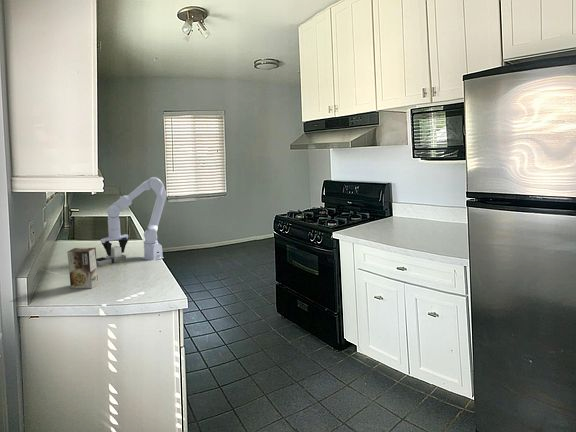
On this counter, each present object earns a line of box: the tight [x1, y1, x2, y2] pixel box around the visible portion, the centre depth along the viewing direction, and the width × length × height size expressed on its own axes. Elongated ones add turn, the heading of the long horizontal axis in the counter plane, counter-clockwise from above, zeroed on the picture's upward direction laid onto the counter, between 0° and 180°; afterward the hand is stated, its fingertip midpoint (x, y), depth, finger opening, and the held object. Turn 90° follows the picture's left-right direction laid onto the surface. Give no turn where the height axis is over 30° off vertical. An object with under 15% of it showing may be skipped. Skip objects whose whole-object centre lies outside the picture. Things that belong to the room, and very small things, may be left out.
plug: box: [110, 245, 123, 258], centre depth 203 cm, size 5×4×7 cm
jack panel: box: [96, 254, 127, 268], centre depth 200 cm, size 9×16×3 cm, turn 148°
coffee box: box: [66, 247, 99, 289], centre depth 164 cm, size 9×6×16 cm
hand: (115, 254), depth 203 cm, fingers open, 7 cm apart
